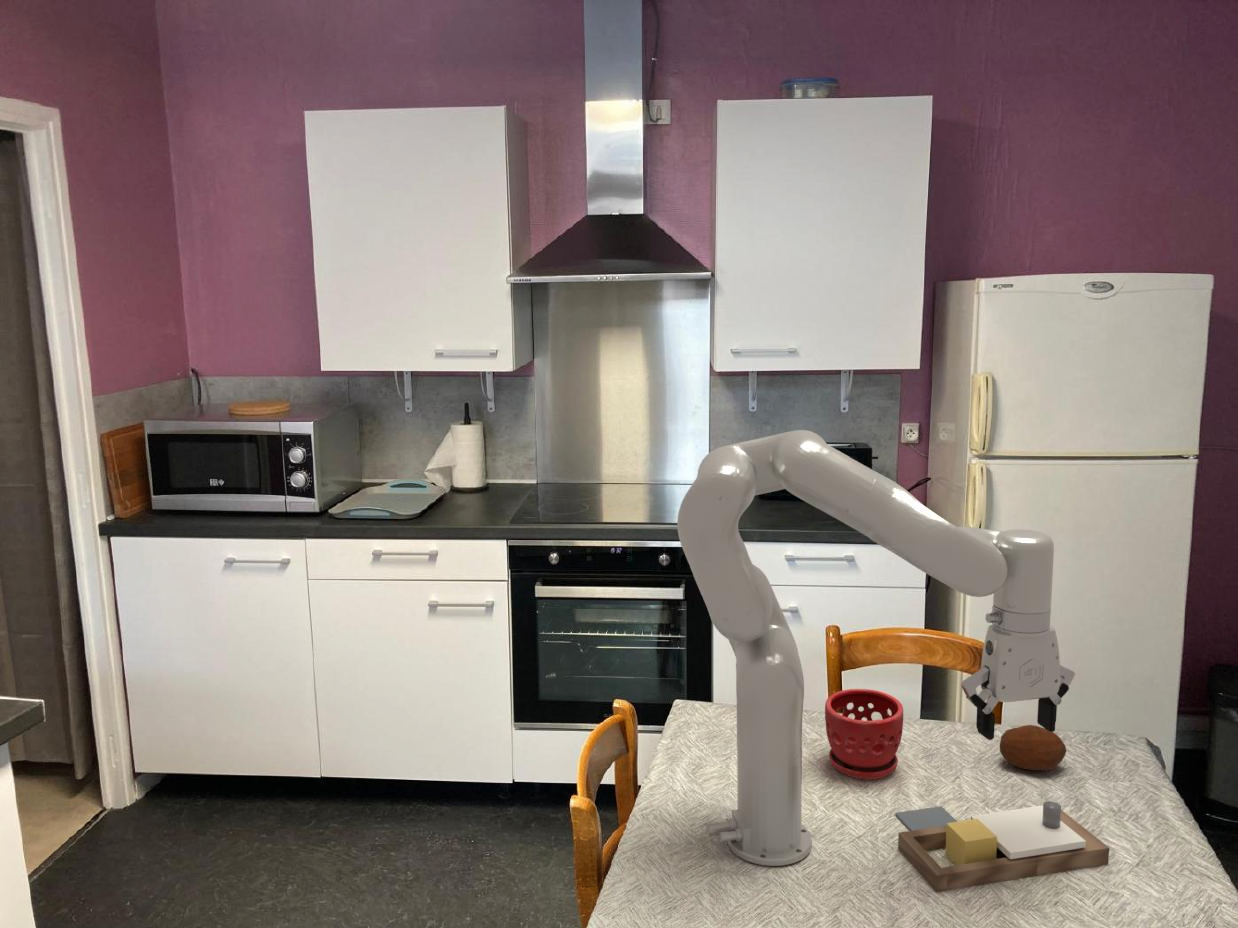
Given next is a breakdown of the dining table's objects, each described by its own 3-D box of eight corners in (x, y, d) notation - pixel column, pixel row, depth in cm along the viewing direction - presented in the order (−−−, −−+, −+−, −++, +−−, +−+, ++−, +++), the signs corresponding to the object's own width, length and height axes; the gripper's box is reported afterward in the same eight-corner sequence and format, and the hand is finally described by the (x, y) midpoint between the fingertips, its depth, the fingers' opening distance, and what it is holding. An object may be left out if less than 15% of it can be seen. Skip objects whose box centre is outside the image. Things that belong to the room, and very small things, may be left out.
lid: (1010, 859, 136) (1011, 833, 135) (970, 822, 146) (971, 797, 145) (1085, 847, 139) (1087, 821, 138) (1041, 811, 148) (1042, 787, 148)
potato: (991, 754, 172) (993, 715, 171) (1054, 755, 171) (1056, 715, 170) (1006, 778, 164) (1008, 736, 163) (1072, 779, 163) (1075, 737, 162)
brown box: (936, 891, 134) (937, 875, 133) (898, 847, 144) (898, 832, 144) (1108, 863, 139) (1109, 847, 139) (1058, 823, 150) (1059, 808, 149)
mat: (920, 842, 146) (920, 839, 146) (895, 814, 153) (895, 812, 153) (969, 835, 147) (969, 832, 147) (941, 808, 155) (941, 805, 155)
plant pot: (812, 754, 174) (813, 691, 172) (880, 746, 176) (882, 684, 174) (842, 790, 161) (844, 723, 159) (916, 781, 164) (918, 714, 162)
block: (964, 873, 138) (965, 841, 137) (945, 854, 143) (946, 823, 142) (995, 868, 139) (997, 836, 138) (976, 849, 144) (977, 818, 143)
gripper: (980, 632, 131) (976, 750, 134) (1093, 620, 135) (1086, 735, 138) (950, 615, 139) (947, 727, 142) (1058, 604, 142) (1052, 714, 145)
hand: (1015, 731), depth 140 cm, fingers open, 9 cm apart
